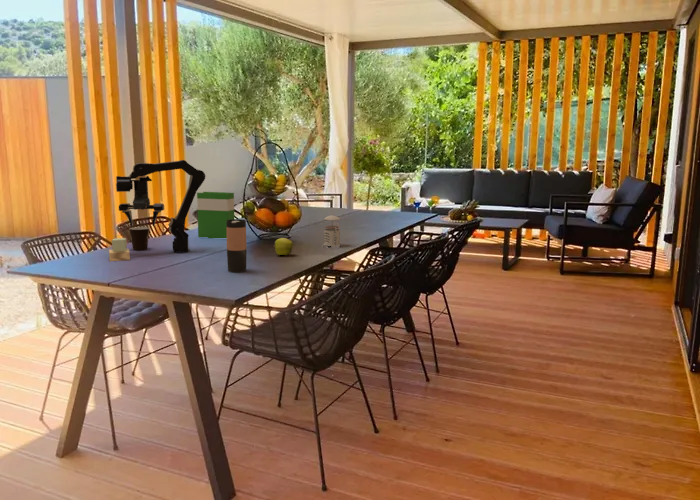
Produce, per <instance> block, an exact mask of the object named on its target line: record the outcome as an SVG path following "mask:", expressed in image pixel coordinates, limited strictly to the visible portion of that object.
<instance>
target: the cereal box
mask: <svg viewBox="0 0 700 500" xmlns="http://www.w3.org/2000/svg"><path fill="white" fill-rule="evenodd" d="M196 204H197V207H196V208H197V233H198V235H197V236H198V237H208V238H207V239H213V238H227V224H226V221H227V220H232V219H235V192H222V191H221V192H219V191H203V192H196Z"/></svg>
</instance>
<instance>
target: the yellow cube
mask: <svg viewBox="0 0 700 500" xmlns="http://www.w3.org/2000/svg"><path fill="white" fill-rule="evenodd" d="M127 244H128V243H127V237H118V238H117V237H116V238H113V239H112V240H111V247H112V248H111V250H113V252H124V251H126V250H127V249H128V246H127Z"/></svg>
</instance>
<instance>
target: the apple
mask: <svg viewBox="0 0 700 500" xmlns="http://www.w3.org/2000/svg"><path fill="white" fill-rule="evenodd" d="M273 247H274V250H275V253H276V254H277V255H278V256H280V255H285V256H289V255H290V254H291V253H292V251H293V247H294V243H293V241H292V240H290V239H288V238H286V237H285V238H284V237H280V238H278V239H276V240H275V241H274V245H273Z"/></svg>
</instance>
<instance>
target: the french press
mask: <svg viewBox="0 0 700 500" xmlns="http://www.w3.org/2000/svg"><path fill="white" fill-rule="evenodd" d="M330 199H331V212H333V208H334V207H333V201H334V200H333V199H335V196H334V195H331V196H330ZM323 220H324V221H331V222H333V221H336V222H333V225H326V226H324V228H325V229H324V230H323V235H324V236H323V238H324V240H323V242H324V243H323V245H328V246H336V245H341V244H340V243H341V240H340V239H341V235H340V234H341V229H340V226H339V223H338V222H337V221H340V220H341V218H340V217H339V216H336V215H333V214H331V215H327V216H326V217H324V218H323Z"/></svg>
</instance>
